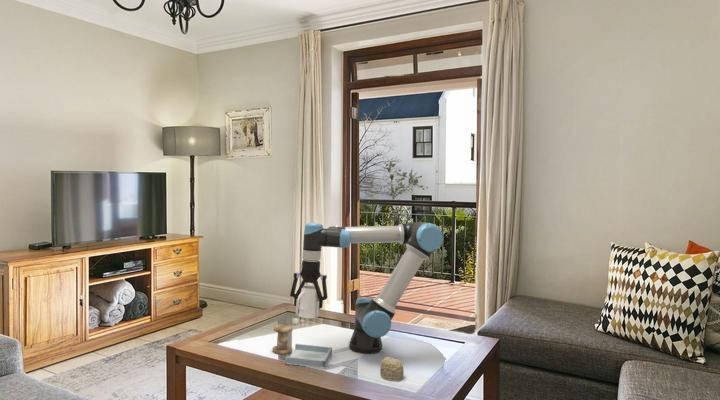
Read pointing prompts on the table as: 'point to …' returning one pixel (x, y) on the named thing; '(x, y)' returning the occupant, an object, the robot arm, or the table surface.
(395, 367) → the sponge
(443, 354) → the table surface
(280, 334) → the bobbin
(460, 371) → the table surface
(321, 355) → the blue-grey square tray
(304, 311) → the mug
